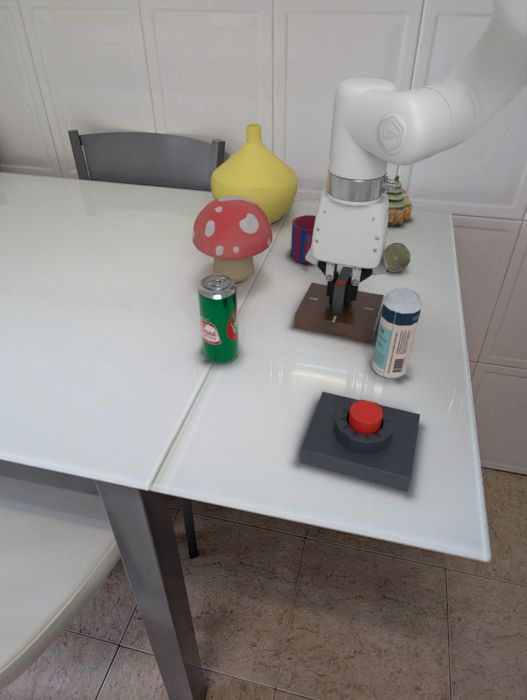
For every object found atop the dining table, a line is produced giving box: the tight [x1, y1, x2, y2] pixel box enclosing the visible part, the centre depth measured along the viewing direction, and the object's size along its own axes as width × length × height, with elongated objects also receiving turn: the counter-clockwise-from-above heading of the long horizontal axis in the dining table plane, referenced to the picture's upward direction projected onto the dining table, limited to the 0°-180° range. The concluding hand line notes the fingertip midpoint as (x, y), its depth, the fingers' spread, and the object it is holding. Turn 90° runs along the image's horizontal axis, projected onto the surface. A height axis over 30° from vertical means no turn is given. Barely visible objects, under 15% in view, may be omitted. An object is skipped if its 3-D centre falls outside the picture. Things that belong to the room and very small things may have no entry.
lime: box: [384, 242, 411, 273], centre depth 90 cm, size 4×5×5 cm
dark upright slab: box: [331, 265, 353, 315], centre depth 76 cm, size 6×2×5 cm, turn 161°
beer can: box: [371, 287, 423, 379], centre depth 65 cm, size 5×5×12 cm
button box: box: [299, 391, 421, 492], centre depth 57 cm, size 12×10×4 cm
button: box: [348, 399, 383, 434], centre depth 55 cm, size 4×4×2 cm
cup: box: [290, 214, 316, 265], centre depth 92 cm, size 7×10×7 cm
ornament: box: [385, 174, 413, 227], centre depth 105 cm, size 8×6×10 cm
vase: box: [210, 123, 299, 225], centre depth 103 cm, size 18×18×19 cm
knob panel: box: [293, 282, 385, 344], centre depth 78 cm, size 12×10×3 cm
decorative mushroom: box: [192, 196, 274, 284], centre depth 83 cm, size 13×13×15 cm
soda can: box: [197, 273, 240, 365], centre depth 68 cm, size 5×5×12 cm
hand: (341, 300), depth 77 cm, fingers closed
